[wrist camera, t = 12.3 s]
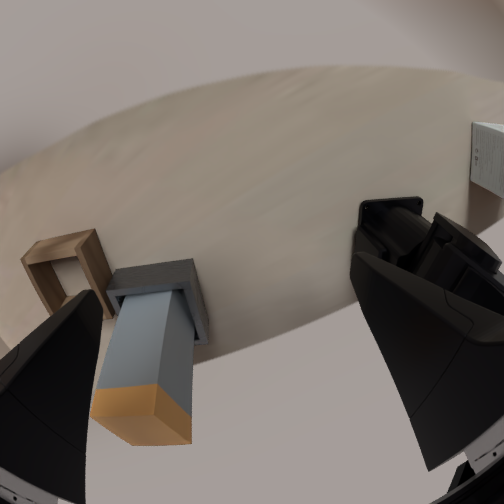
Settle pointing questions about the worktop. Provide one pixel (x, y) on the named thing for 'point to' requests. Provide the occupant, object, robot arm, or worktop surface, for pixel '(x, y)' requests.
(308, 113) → the worktop surface
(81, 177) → the worktop surface
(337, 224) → the worktop surface
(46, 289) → the square frame
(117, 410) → the plug
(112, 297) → the socket
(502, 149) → the small box
